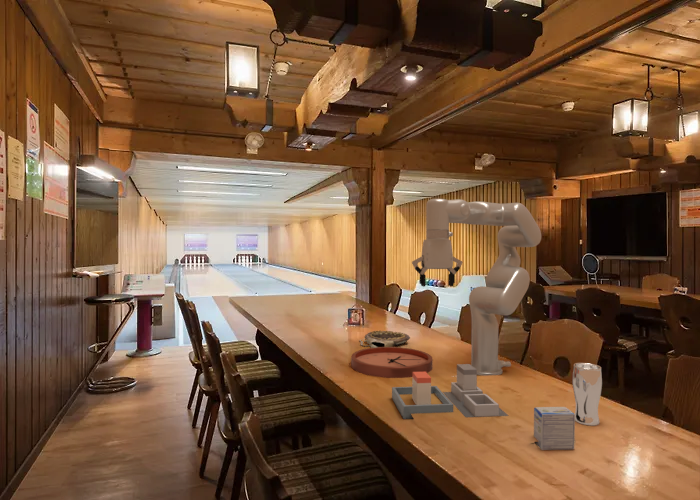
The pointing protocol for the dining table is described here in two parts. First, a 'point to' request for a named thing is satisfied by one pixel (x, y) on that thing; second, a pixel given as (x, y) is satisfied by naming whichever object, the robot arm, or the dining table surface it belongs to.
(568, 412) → the medicine box
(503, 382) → the dining table surface
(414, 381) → the block
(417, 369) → the clock
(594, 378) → the beer glass
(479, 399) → the board
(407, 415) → the grey open square frame
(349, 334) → the dining table surface
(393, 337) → the pie
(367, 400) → the dining table surface
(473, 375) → the block
